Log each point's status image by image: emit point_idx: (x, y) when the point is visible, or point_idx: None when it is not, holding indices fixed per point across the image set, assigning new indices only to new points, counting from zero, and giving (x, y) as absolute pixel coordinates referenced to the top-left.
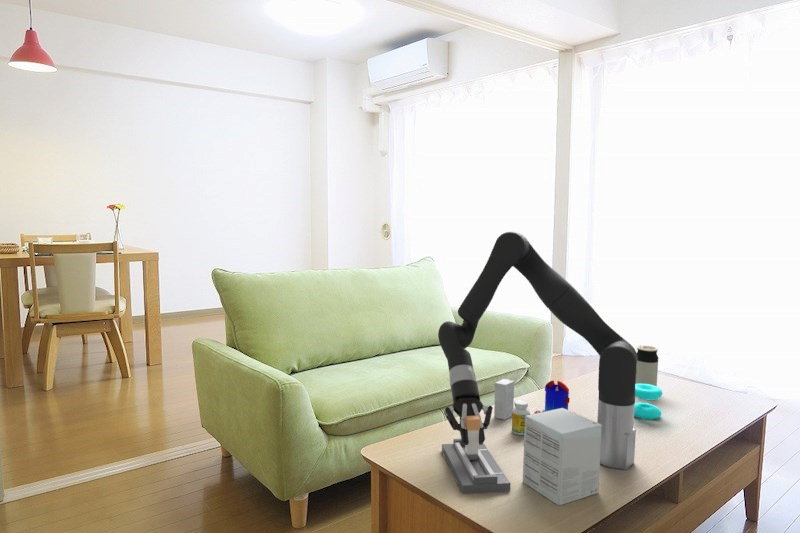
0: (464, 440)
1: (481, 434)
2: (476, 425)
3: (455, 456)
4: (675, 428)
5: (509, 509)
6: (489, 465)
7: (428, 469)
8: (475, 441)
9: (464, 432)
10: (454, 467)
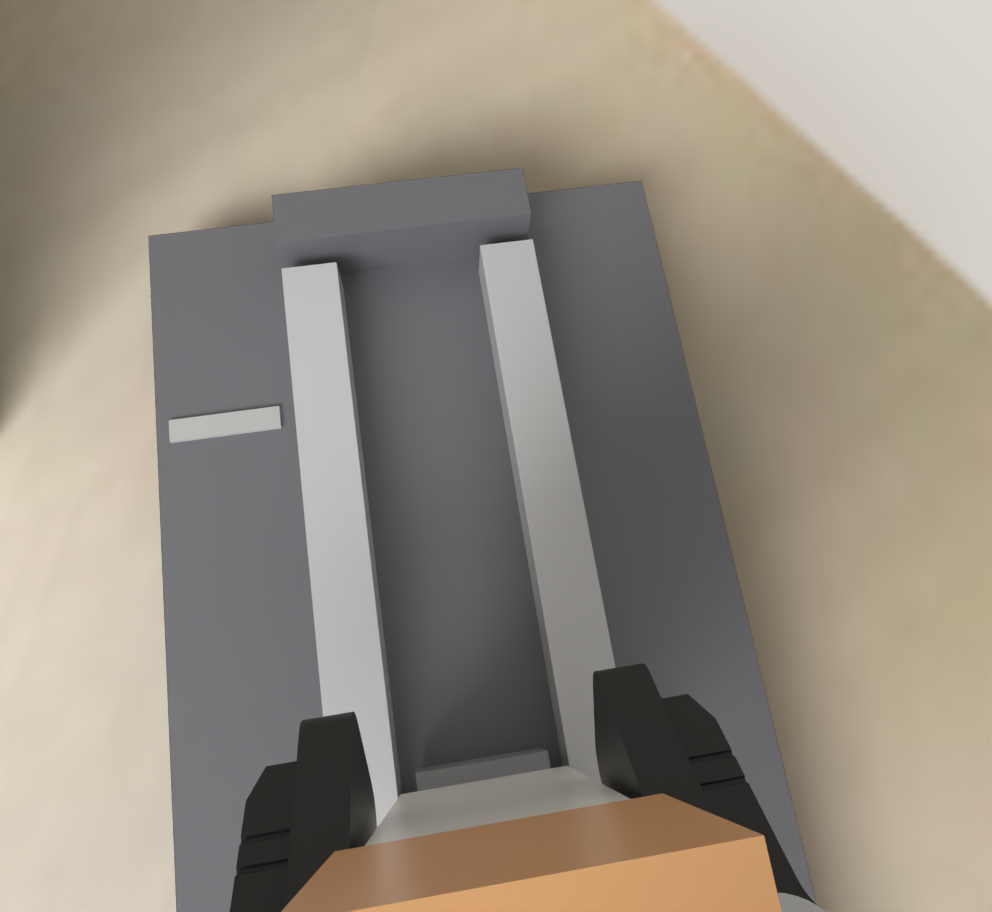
0: (675, 701)
1: (308, 832)
2: (422, 858)
3: None
4: None
5: (266, 20)
6: (283, 633)
7: (984, 689)
8: (446, 809)
9: None
10: (721, 552)
